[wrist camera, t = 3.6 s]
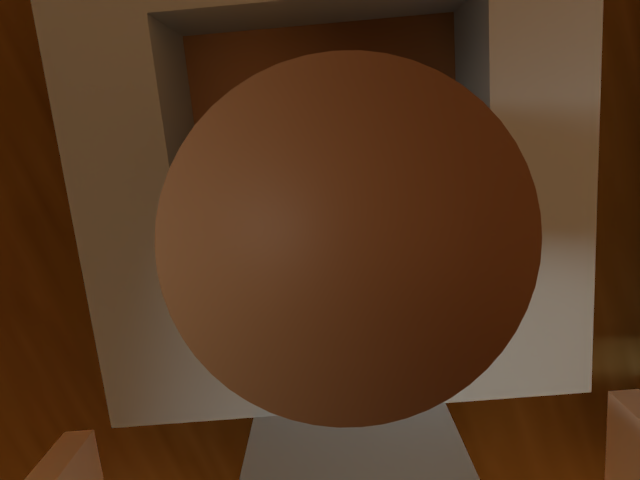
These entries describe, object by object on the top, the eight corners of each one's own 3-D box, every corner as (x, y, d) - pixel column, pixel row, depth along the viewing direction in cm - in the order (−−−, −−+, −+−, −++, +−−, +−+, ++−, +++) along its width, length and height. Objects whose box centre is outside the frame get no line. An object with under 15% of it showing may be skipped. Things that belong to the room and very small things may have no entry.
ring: (176, 540, 14) (43, 923, 7) (76, -55, 11) (-322, -350, 4) (540, 515, 14) (750, 884, 7) (545, -99, 11) (931, -486, 4)
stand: (143, 379, 14) (-238, 916, 4) (67, -64, 12) (-1075, -925, 2) (548, 347, 14) (1060, 844, 4) (554, -111, 11) (1714, -1292, 2)
